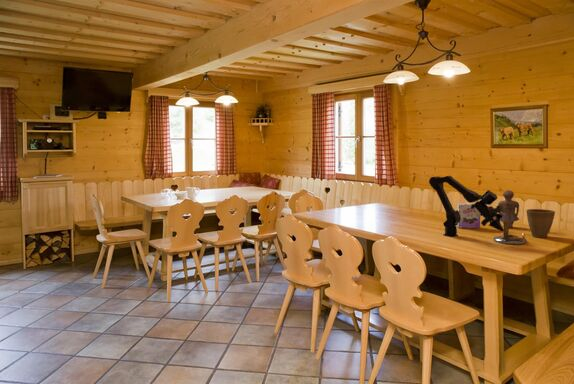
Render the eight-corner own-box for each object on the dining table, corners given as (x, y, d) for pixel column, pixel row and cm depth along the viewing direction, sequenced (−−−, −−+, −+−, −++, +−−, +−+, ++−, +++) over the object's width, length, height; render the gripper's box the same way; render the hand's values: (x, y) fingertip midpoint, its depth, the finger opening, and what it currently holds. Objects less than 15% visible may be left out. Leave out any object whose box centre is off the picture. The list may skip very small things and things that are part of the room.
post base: (487, 240, 250) (487, 232, 249) (506, 237, 258) (506, 229, 257) (513, 246, 235) (514, 237, 234) (533, 242, 243) (533, 234, 242)
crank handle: (498, 240, 242) (499, 220, 241) (503, 236, 252) (503, 217, 251) (523, 242, 235) (524, 222, 234) (526, 238, 245) (527, 219, 244)
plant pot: (559, 238, 251) (561, 211, 249) (537, 239, 249) (538, 213, 247) (541, 233, 266) (542, 208, 264) (519, 234, 263) (520, 209, 261)
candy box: (458, 228, 286) (459, 204, 284) (456, 226, 292) (457, 203, 290) (480, 228, 284) (480, 204, 282) (477, 227, 289) (478, 203, 287)
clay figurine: (519, 226, 287) (520, 190, 284) (518, 229, 279) (520, 191, 276) (497, 225, 294) (499, 189, 291) (496, 227, 285) (497, 190, 283)
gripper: (487, 202, 237) (507, 224, 230) (500, 199, 250) (520, 220, 243) (473, 215, 244) (492, 236, 237) (486, 211, 256) (505, 231, 249)
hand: (503, 230), depth 241 cm, fingers closed, pressing on crank handle
